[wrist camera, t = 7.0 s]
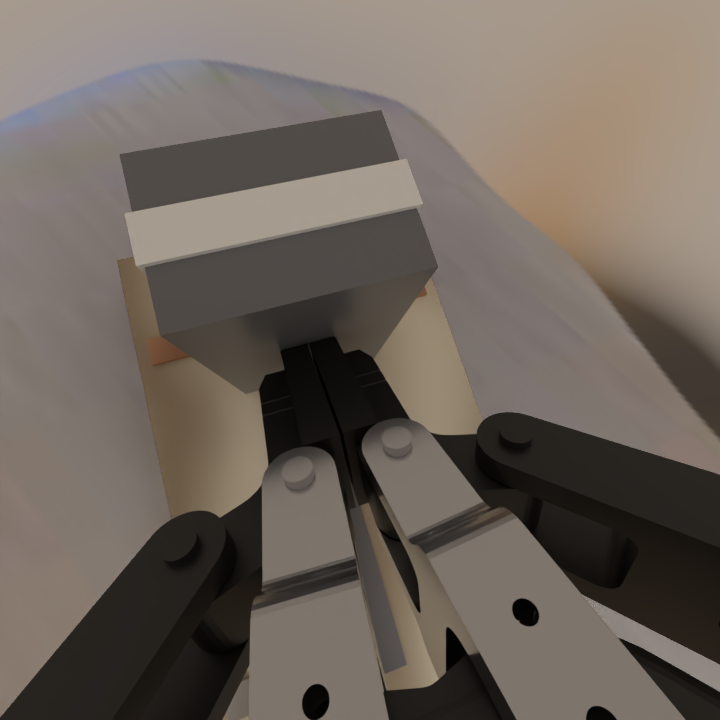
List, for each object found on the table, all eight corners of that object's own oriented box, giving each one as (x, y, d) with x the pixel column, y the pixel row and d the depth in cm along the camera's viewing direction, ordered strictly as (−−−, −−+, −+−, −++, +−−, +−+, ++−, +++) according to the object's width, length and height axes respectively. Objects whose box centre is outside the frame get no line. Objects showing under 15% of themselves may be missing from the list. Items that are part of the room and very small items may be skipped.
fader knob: (243, 394, 14) (150, 335, 6) (220, 307, 15) (110, 151, 7) (376, 357, 15) (444, 263, 7) (350, 275, 16) (386, 105, 8)
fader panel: (252, 793, 14) (240, 859, 11) (139, 281, 17) (114, 258, 15) (546, 659, 16) (583, 694, 13) (394, 224, 19) (404, 196, 17)
